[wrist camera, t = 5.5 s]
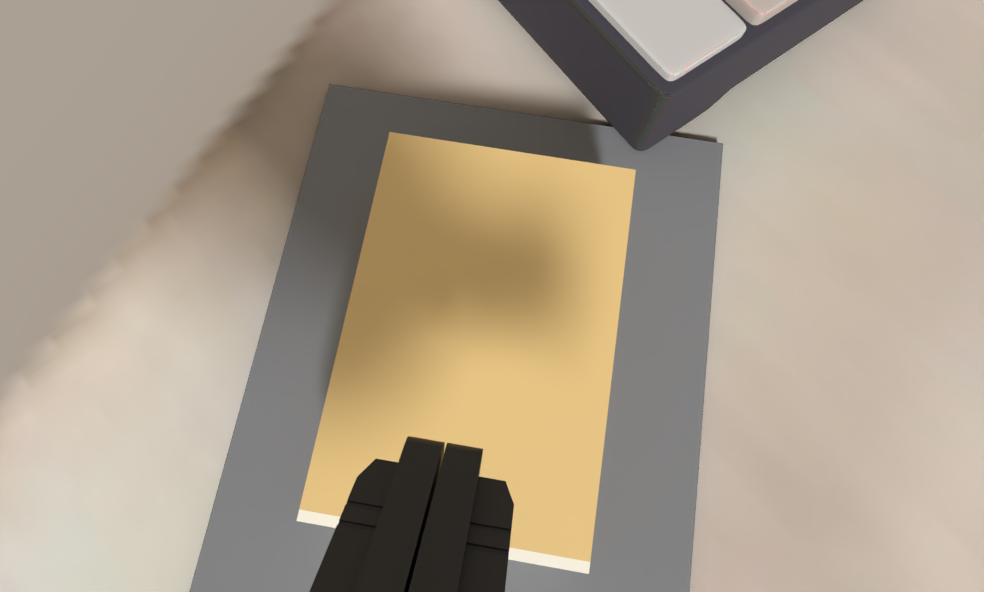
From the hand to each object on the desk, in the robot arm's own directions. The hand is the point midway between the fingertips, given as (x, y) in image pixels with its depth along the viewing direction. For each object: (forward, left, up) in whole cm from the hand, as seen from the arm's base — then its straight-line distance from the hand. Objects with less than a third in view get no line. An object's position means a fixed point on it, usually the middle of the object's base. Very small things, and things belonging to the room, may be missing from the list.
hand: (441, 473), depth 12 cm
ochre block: (0, +2, -7) cm, 7 cm away
